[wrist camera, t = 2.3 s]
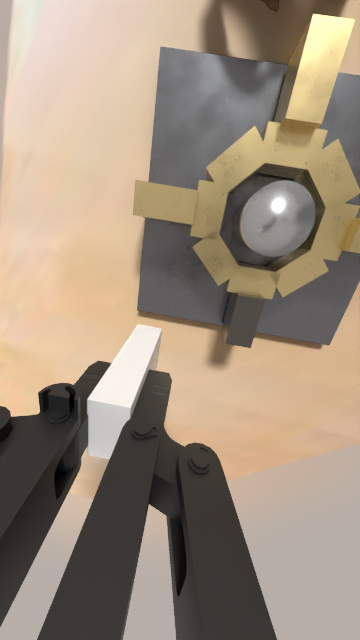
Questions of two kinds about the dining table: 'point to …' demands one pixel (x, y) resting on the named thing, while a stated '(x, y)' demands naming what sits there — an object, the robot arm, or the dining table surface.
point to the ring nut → (279, 160)
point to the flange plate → (240, 194)
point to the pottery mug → (272, 4)
